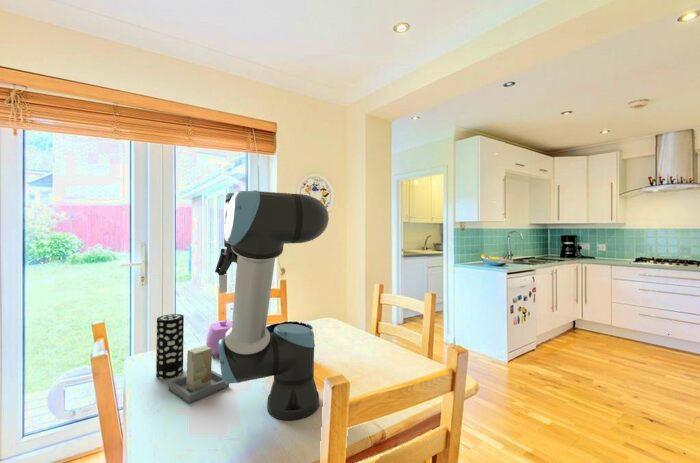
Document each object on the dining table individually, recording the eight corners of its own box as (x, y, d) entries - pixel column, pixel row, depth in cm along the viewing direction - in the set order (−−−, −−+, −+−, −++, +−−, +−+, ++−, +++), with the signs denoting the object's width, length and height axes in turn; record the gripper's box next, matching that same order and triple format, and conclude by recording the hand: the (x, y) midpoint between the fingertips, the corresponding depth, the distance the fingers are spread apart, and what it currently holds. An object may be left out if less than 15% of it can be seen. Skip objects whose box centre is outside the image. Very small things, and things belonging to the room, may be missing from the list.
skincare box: (193, 392, 99) (193, 353, 99) (185, 388, 102) (186, 350, 102) (212, 384, 105) (212, 347, 105) (204, 380, 107) (205, 344, 107)
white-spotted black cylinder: (171, 380, 108) (171, 321, 108) (150, 377, 110) (150, 319, 110) (188, 369, 117) (189, 315, 116) (168, 367, 118) (169, 313, 118)
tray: (228, 386, 105) (228, 379, 105) (189, 404, 94) (189, 395, 94) (207, 375, 113) (207, 368, 112) (168, 390, 102) (168, 382, 102)
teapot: (202, 346, 139) (203, 317, 139) (232, 341, 146) (232, 313, 146) (211, 363, 122) (211, 330, 122) (244, 356, 129) (244, 325, 129)
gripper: (266, 237, 112) (266, 297, 112) (223, 235, 126) (222, 288, 126) (249, 237, 106) (248, 301, 106) (205, 235, 119) (205, 291, 120)
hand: (234, 294), depth 116 cm, fingers open, 13 cm apart
